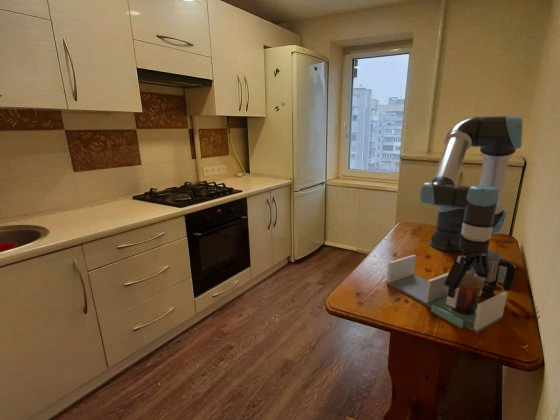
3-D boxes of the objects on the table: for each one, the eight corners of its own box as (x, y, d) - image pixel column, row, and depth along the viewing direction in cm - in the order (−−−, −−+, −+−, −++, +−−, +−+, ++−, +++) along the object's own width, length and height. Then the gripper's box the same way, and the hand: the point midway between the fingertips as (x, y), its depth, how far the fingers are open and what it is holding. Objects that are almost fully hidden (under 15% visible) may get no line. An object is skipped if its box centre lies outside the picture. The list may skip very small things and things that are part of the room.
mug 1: (446, 299, 104) (451, 271, 101) (476, 305, 100) (482, 277, 97) (447, 318, 93) (452, 288, 90) (481, 326, 89) (488, 295, 87)
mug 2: (510, 286, 115) (514, 270, 113) (489, 280, 119) (492, 264, 118) (514, 277, 122) (518, 261, 120) (495, 271, 126) (498, 256, 124)
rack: (411, 275, 123) (413, 254, 120) (501, 318, 95) (507, 293, 93) (383, 284, 115) (386, 263, 113) (473, 335, 88) (478, 307, 85)
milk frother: (471, 297, 107) (478, 258, 103) (451, 276, 122) (456, 241, 118) (514, 300, 106) (523, 260, 102) (488, 278, 121) (495, 243, 117)
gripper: (484, 227, 101) (473, 285, 107) (437, 240, 89) (428, 304, 95) (510, 234, 95) (497, 295, 101) (463, 249, 83) (451, 317, 89)
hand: (463, 299), depth 98 cm, fingers open, 13 cm apart
